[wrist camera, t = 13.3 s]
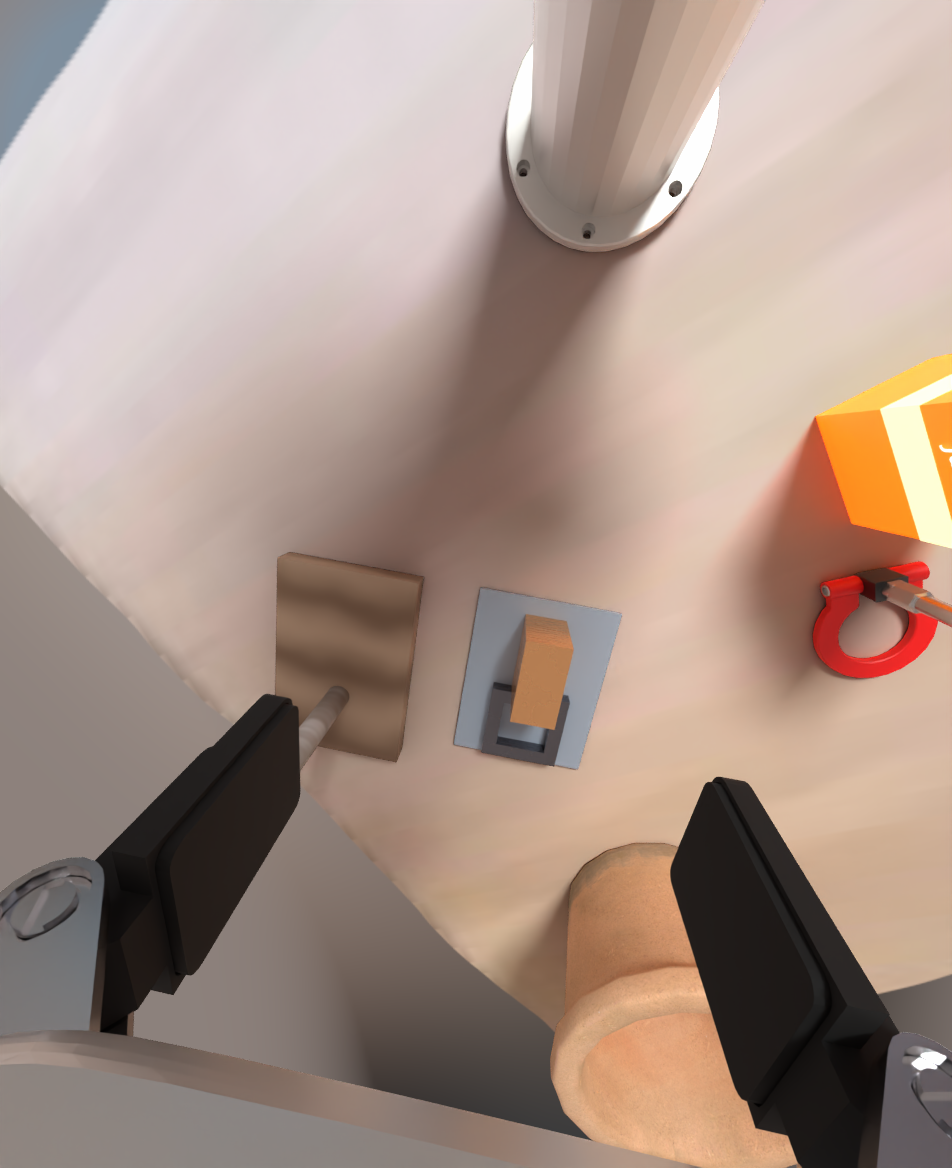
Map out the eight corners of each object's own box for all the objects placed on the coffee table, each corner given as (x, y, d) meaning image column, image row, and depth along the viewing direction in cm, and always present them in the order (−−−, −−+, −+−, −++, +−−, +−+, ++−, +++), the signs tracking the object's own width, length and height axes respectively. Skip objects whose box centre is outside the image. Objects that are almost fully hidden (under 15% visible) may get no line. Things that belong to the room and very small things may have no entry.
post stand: (289, 552, 38) (190, 596, 27) (423, 576, 38) (380, 633, 26) (285, 724, 44) (201, 822, 32) (401, 748, 43) (358, 856, 32)
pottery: (510, 854, 46) (504, 1026, 32) (722, 793, 41) (822, 966, 27) (589, 990, 51) (613, 1190, 37) (787, 950, 46) (899, 1163, 32)
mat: (480, 587, 37) (480, 588, 37) (621, 613, 37) (622, 614, 36) (454, 741, 42) (453, 744, 42) (577, 766, 42) (578, 769, 41)
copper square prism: (506, 610, 37) (504, 637, 32) (586, 624, 37) (596, 653, 32) (482, 743, 42) (476, 786, 36) (553, 757, 41) (557, 802, 36)
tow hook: (924, 659, 36) (927, 554, 33) (1130, 779, 24) (1162, 629, 21) (811, 679, 37) (805, 581, 35) (951, 802, 25) (959, 665, 22)
